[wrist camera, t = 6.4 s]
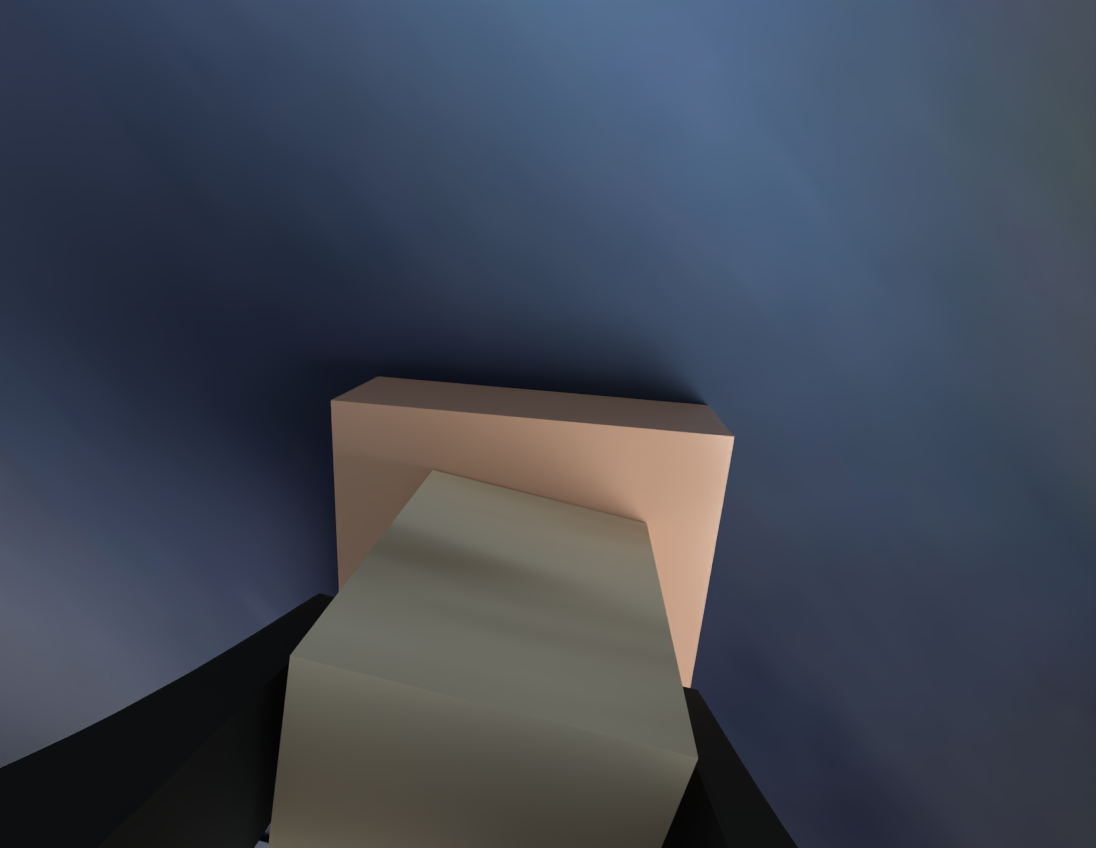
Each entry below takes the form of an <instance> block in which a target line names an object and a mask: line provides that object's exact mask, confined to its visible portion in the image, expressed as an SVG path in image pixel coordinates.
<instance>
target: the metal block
mask: <svg viewBox="0 0 1096 848" xmlns="http://www.w3.org/2000/svg"><path fill="white" fill-rule="evenodd" d="M697 760H698V754H697V750H696V745H695V741H694V736H693V732H692V727H691V723H690V718H689V714H688V709H687V704H686V700H685V695H684V691H683V686H682V682H681V677H680V673H679V668H678V663H677V659H676V654H675V650H674V645H673V641H672V636H671V632H670V627H669V623H668V618H667V613H666V609H665V604H664V600H663V595H662V591H661V586H660V582H659V577H658V572H657V568H656V563H655V559H654V554H653V550H652V545H651V541H650V536H649V532H648V527H647V523H644V522H640V521H636V520H632V519H628V518H624V517H620V516H616V515H612V514H608V513H604V512H600V511H596V510H592V509H588V508H584V507H580V506H576V505H572V504H568V503H564V502H560V501H556V500H552V499H548V498H544V497H540V496H536V495H532V494H528V493H524V492H520V491H516V490H512V489H508V488H504V487H500V486H496V485H492V484H488V483H484V482H480V481H476V480H472V479H468V478H464V477H460V476H456V475H452V474H448V473H444V472H440V471H436V470H432V472H431V473H430V474H429V476H428V477H427V478H426V479H425V481H424V482H423V483H422V485H421V486H420V487H419V489H418V490H417V491H416V492H415V494H414V495H413V496H412V498H411V499H410V500H409V502H408V503H407V504H406V505H405V507H404V508H403V509H402V511H401V512H400V513H399V515H398V516H397V517H396V518H395V520H394V521H393V522H392V524H391V525H390V526H389V528H388V529H387V530H386V531H385V533H384V534H383V535H382V537H381V538H380V539H379V541H378V542H377V543H376V544H375V546H374V547H373V548H372V550H371V551H370V552H369V554H368V555H367V556H366V557H365V559H364V560H363V561H362V563H361V564H360V565H359V567H358V568H357V569H356V570H355V572H354V573H353V574H352V576H351V577H350V578H349V580H348V581H347V582H346V583H345V585H344V586H343V587H342V589H341V590H340V591H339V593H338V594H337V595H336V596H335V598H334V599H333V600H332V602H331V603H330V604H329V606H328V607H327V608H326V609H325V611H324V612H323V613H322V615H321V616H320V617H319V619H318V620H317V621H316V622H315V624H314V625H313V626H312V628H311V629H310V630H309V632H308V633H307V634H306V635H305V637H304V638H303V639H302V641H301V642H300V643H299V645H298V646H297V647H296V648H295V650H294V651H293V652H292V654H291V655H290V661H289V670H288V679H287V687H286V696H285V705H284V714H283V722H282V731H281V740H280V748H279V757H278V766H277V775H276V783H275V792H274V801H273V810H272V818H271V827H270V836H269V845H268V848H661V847H662V845H663V842H664V840H665V837H666V835H667V833H668V830H669V828H670V825H671V823H672V821H673V818H674V816H675V813H676V811H677V808H678V806H679V804H680V801H681V799H682V796H683V794H684V792H685V789H686V787H687V784H688V782H689V780H690V777H691V775H692V772H693V770H694V767H695V765H696V763H697Z"/></svg>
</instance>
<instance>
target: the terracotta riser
mask: <svg viewBox="0 0 1096 848" xmlns="http://www.w3.org/2000/svg"><path fill="white" fill-rule="evenodd" d="M331 416H332V440H333V463H334V486H335V510H336V533H337V556H338V579H339V591H340V590H341V589H342V587H343V586H344V585H345V583H346V582H347V581H348V580H349V578H350V577H351V576H352V574H353V573H354V572H355V570H356V569H357V568H358V567H359V565H360V564H361V563H362V561H363V560H364V559H365V557H366V556H367V555H368V554H369V552H370V551H371V550H372V548H373V547H374V546H375V544H376V543H377V542H378V541H379V539H380V538H381V537H382V535H383V534H384V533H385V531H386V530H387V529H388V528H389V526H390V525H391V524H392V522H393V521H394V520H395V518H396V517H397V516H398V515H399V513H400V512H401V511H402V509H403V508H404V507H405V505H406V504H407V503H408V502H409V500H410V499H411V498H412V496H413V495H414V494H415V492H416V491H417V490H418V489H419V487H420V486H421V485H422V483H423V482H424V481H425V479H426V478H427V477H428V476H429V474H430V473H431V472H432V470H436V471H440V472H444V473H448V474H452V475H456V476H460V477H464V478H468V479H472V480H476V481H480V482H484V483H488V484H492V485H496V486H500V487H504V488H508V489H512V490H516V491H520V492H524V493H528V494H532V495H536V496H540V497H544V498H548V499H552V500H556V501H560V502H564V503H568V504H572V505H576V506H580V507H584V508H588V509H592V510H596V511H600V512H604V513H608V514H612V515H616V516H620V517H624V518H628V519H632V520H636V521H640V522H644V523H647V527H648V532H649V536H650V541H651V545H652V550H653V554H654V559H655V563H656V568H657V572H658V577H659V582H660V586H661V591H662V595H663V600H664V604H665V609H666V613H667V618H668V623H669V627H670V632H671V636H672V641H673V645H674V650H675V654H676V659H677V663H678V668H679V673H680V677H681V682H682V686H684V687H688V688H690V686H691V680H692V674H693V669H694V663H695V658H696V652H697V646H698V641H699V635H700V629H701V624H702V618H703V612H704V607H705V601H706V595H707V590H708V584H709V578H710V573H711V567H712V561H713V556H714V550H715V544H716V539H717V533H718V527H719V522H720V516H721V510H722V505H723V499H724V493H725V488H726V482H727V476H728V471H729V465H730V459H731V454H732V448H733V442H734V435H733V434H732V433H731V432H730V431H729V430H728V428H727V427H726V426H725V425H724V424H723V422H722V421H721V420H720V419H719V418H718V417H717V415H716V414H715V413H714V412H713V411H712V410H711V408H710V407H709V406H708V405H700V404H689V403H677V402H666V401H654V400H643V399H632V398H620V397H609V396H597V395H586V394H574V393H563V392H551V391H540V390H528V389H517V388H505V387H494V386H482V385H471V384H460V383H448V382H437V381H425V380H414V379H402V378H391V377H379V376H378V377H376V378H374V379H372V380H370V381H368V382H366V383H364V384H362V385H360V386H358V387H356V388H354V389H352V390H350V391H348V392H346V393H344V394H342V395H340V396H338V397H336V398H334V399H332V400H331Z"/></svg>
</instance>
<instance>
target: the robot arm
mask: <svg viewBox="0 0 1096 848" xmlns="http://www.w3.org/2000/svg"><path fill="white" fill-rule="evenodd" d="M334 598H335V597H332V596H328V595H324V594H318V595H316V596H314V597H312V598H311V599H309V600H308V601H306V602H304V603H303V604H301V605H299V606H298V607H296V608H295V609H293V610H291V611H290V612H288V613H287V614H285V615H284V616H282V617H280V618H279V619H277V620H276V621H274V622H272V623H271V624H269V625H268V626H266V627H264V628H263V629H261V630H260V631H258V632H256V633H255V634H253V635H252V636H250V637H248V638H247V639H245V640H244V641H242V642H240V643H239V644H237V645H235V646H234V647H232V648H230V649H229V650H227V651H225V652H223V653H222V654H220V655H218V656H217V657H215V658H213V659H212V660H210V661H208V662H207V663H205V664H203V665H202V666H200V667H198V668H197V669H195V670H193V671H191V672H190V673H188V674H186V675H184V676H183V677H181V678H179V679H177V680H175V681H174V682H172V683H170V684H168V685H166V686H164V687H163V688H161V689H159V690H157V691H155V692H153V693H152V694H150V695H148V696H146V697H144V698H142V699H141V700H139V701H137V702H135V703H133V704H131V705H130V706H128V707H126V708H124V709H122V710H120V711H118V712H116V713H115V714H113V715H111V716H109V717H107V718H105V719H103V720H101V721H99V722H97V723H95V724H93V725H91V726H89V727H87V728H85V729H83V730H81V731H79V732H77V733H75V734H73V735H71V736H69V737H67V738H64V739H62V740H60V741H58V742H56V743H54V744H52V745H50V746H47V747H45V748H43V749H41V750H39V751H37V752H35V753H32V754H30V755H28V756H26V757H24V758H22V759H20V760H17V761H15V762H13V763H11V764H8V765H6V766H4V767H2V768H0V848H268V845H269V843H267V842H263V841H259V840H260V838H261V837H262V835H263V833H264V832H265V830H266V829H267V827H268V826H269V824H270V822H271V818H272V810H273V801H274V792H275V783H276V775H277V766H278V757H279V748H280V740H281V731H282V722H283V714H284V705H285V696H286V687H287V679H288V670H289V661H290V655H291V654H292V652H293V651H294V650H295V648H296V647H297V646H298V645H299V643H300V642H301V641H302V639H303V638H304V637H305V635H306V634H307V633H308V632H309V630H310V629H311V628H312V626H313V625H314V624H315V622H316V621H317V620H318V619H319V617H320V616H321V615H322V613H323V612H324V611H325V609H326V608H327V607H328V606H329V604H330V603H331V602H332V600H333V599H334ZM683 691H684V695H685V700H686V704H687V709H688V714H689V718H690V723H691V727H692V732H693V736H694V741H695V745H696V750H697V754H698V760H697V763H696V765H695V767H694V770H693V772H692V775H691V777H690V780H689V782H688V784H687V787H686V789H685V792H684V794H683V796H682V799H681V801H680V804H679V806H678V808H677V811H676V813H675V816H674V818H673V821H672V823H671V825H670V828H669V830H668V833H667V835H666V837H665V840H664V842H663V845H662V847H661V848H798V847H797V846H796V844H795V843H794V841H793V840H792V838H791V837H790V835H789V834H788V832H787V831H786V830H785V828H784V827H783V825H782V824H781V822H780V821H779V819H778V818H777V816H776V815H775V813H774V811H773V810H772V808H771V807H770V805H769V804H768V802H767V801H766V799H765V798H764V796H763V795H762V793H761V791H760V790H759V788H758V787H757V785H756V784H755V782H754V781H753V779H752V777H751V776H750V774H749V773H748V771H747V769H746V768H745V766H744V765H743V763H742V761H741V760H740V758H739V757H738V755H737V753H736V752H735V750H734V748H733V747H732V745H731V744H730V742H729V740H728V739H727V737H726V735H725V734H724V732H723V731H722V729H721V727H720V726H719V724H718V722H717V721H716V719H715V717H714V716H713V714H712V713H711V711H710V709H709V708H708V706H707V704H706V703H705V701H704V700H703V698H702V696H701V695H700V693H699V692H698V690H695V689H692V688H688V687H684V686H683Z"/></svg>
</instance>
